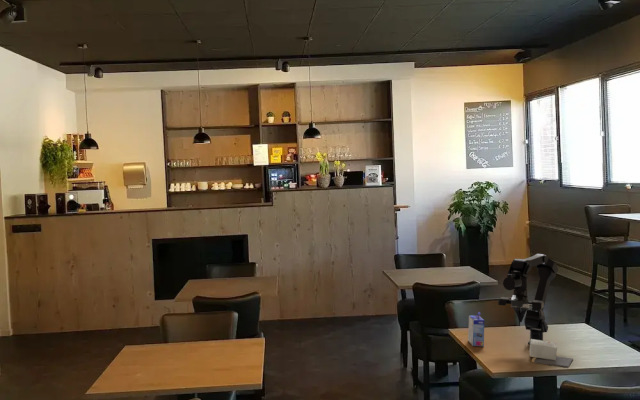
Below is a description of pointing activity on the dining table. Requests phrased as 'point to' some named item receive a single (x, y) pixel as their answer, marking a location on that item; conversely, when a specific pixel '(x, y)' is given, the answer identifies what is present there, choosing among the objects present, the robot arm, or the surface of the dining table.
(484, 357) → the dining table surface
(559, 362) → the mat
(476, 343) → the ink cartridge box
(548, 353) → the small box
